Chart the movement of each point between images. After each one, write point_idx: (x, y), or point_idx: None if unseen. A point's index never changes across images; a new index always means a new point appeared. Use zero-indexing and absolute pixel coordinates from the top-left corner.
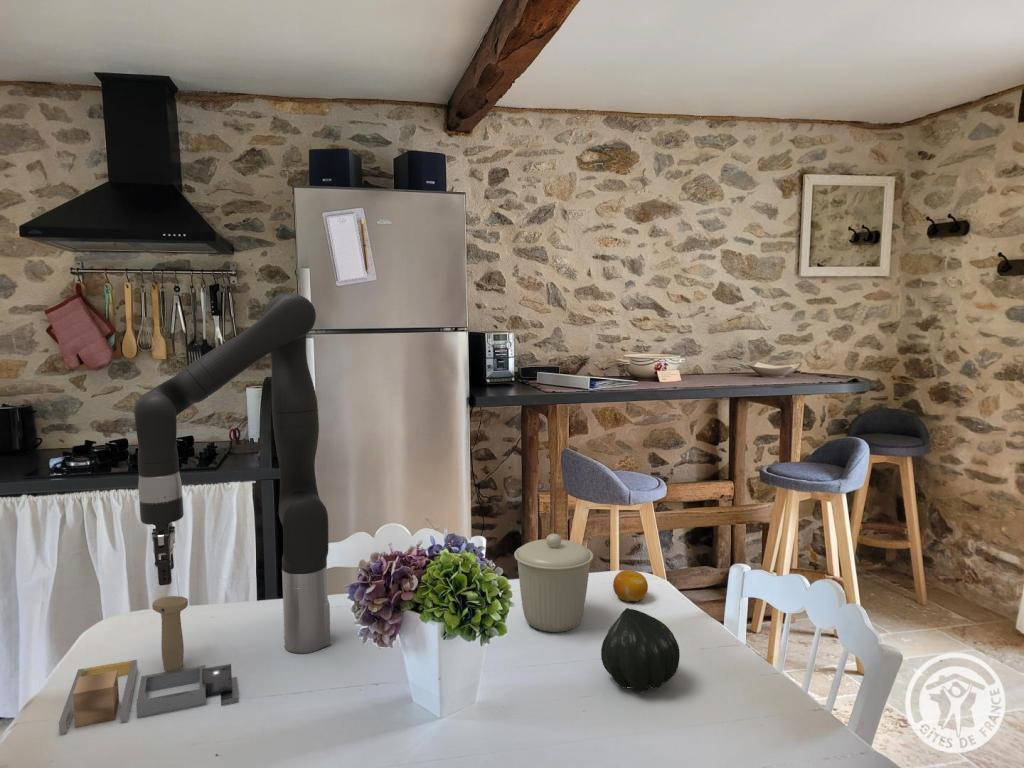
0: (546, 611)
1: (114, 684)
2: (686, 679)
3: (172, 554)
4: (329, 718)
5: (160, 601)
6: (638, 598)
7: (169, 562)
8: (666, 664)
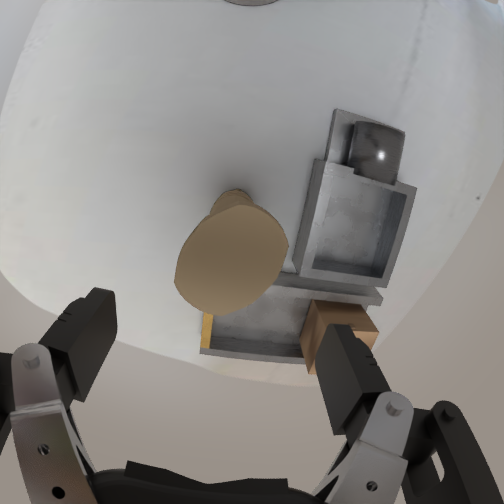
0: None
1: (363, 329)
2: None
3: (78, 341)
4: (477, 66)
5: (213, 293)
6: None
7: (459, 413)
8: None
